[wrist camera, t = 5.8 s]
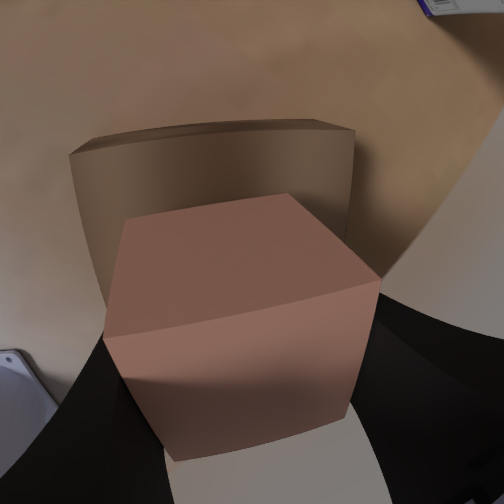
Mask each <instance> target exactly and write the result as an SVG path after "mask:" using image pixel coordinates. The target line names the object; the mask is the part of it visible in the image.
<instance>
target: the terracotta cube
mask: <svg viewBox="0 0 504 504" xmlns="http://www.w3.org/2000/svg"><path fill="white" fill-rule="evenodd" d="M381 281H382V279H381V278H380V277H379V276H378V275H377V274H376V273H375V272H374V271H373V270H372V269H371V268H370V267H368V266H367V265H366V264H365V263H364V262H363V261H362V260H361V259H360V258H359V257H358V256H357V255H356V254H355V253H354V252H353V251H352V250H351V249H349V248H348V247H347V246H346V245H345V244H344V243H343V242H342V241H341V240H340V239H339V238H338V237H337V236H335V235H334V234H333V233H332V232H331V231H330V230H329V229H328V228H327V227H326V226H324V225H323V224H322V223H321V222H320V221H319V220H318V219H317V218H316V217H314V216H313V215H312V214H311V213H310V212H309V211H308V210H306V209H305V208H304V207H303V206H302V205H301V204H300V203H298V202H297V201H296V200H295V199H294V198H293V197H292V196H290V195H289V194H288V193H284V194H277V195H270V196H262V197H255V198H248V199H242V200H235V201H228V202H222V203H216V204H209V205H203V206H197V207H191V208H186V209H180V210H174V211H168V212H163V213H157V214H152V215H147V216H141V217H136V218H131V219H126V220H125V223H124V227H123V231H122V236H121V240H120V244H119V249H118V253H117V258H116V263H115V268H114V273H113V278H112V283H111V289H110V294H109V300H108V306H107V312H106V319H105V326H104V333H103V340H104V342H105V345H106V347H107V349H108V351H109V353H110V355H111V357H112V359H113V361H114V363H115V365H116V367H117V369H118V371H119V372H120V374H121V376H122V378H123V380H124V382H125V384H126V385H127V387H128V389H129V391H130V393H131V394H132V396H133V398H134V400H135V401H136V403H137V405H138V407H139V408H140V410H141V412H142V413H143V415H144V417H145V418H146V420H147V421H148V423H149V425H150V426H151V428H152V429H153V431H154V433H155V434H156V436H157V437H158V439H159V440H160V442H161V443H162V445H163V446H164V448H165V449H166V451H167V452H168V454H169V455H170V456H171V458H172V459H173V461H174V462H175V461H182V460H189V459H195V458H201V457H207V456H212V455H217V454H222V453H227V452H232V451H236V450H241V449H245V448H249V447H253V446H257V445H261V444H265V443H269V442H273V441H276V440H280V439H283V438H286V437H290V436H293V435H296V434H300V433H303V432H306V431H309V430H312V429H315V428H318V427H321V426H323V425H327V424H329V423H332V422H335V421H338V420H340V419H343V418H344V417H345V415H346V412H347V409H348V406H349V403H350V400H351V397H352V394H353V390H354V387H355V384H356V381H357V377H358V374H359V371H360V367H361V364H362V360H363V357H364V353H365V349H366V346H367V342H368V338H369V334H370V330H371V326H372V322H373V318H374V313H375V309H376V305H377V300H378V296H379V291H380V286H381Z"/></svg>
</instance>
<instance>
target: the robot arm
mask: <svg viewBox="0 0 504 504" xmlns="http://www.w3.org/2000/svg"><path fill="white" fill-rule="evenodd" d="M103 333H104V331H103ZM103 333H102V335H101V337H100V338H99V340H98V342H97V344H96V346H95V348H94V349H93V351H92V353H91V355H90V357H89V358H88V360H87V362H86V364H85V366H84V367H83V369H82V371H81V372H80V374H79V376H78V377H77V379H76V381H75V382H74V384H73V386H72V387H71V389H70V391H69V392H68V394H67V395H66V397H65V398H64V400H63V402H62V403H61V405H60V406H59V407H58V405H57V404H56V403H55V402H54V400H53V399H52V398H51V397H50V395H49V394H48V393H47V391H46V390H45V389H44V387H43V386H42V385H41V383H40V382H39V380H38V379H37V378H36V376H35V375H34V373H33V372H32V371H31V369H30V368H29V366H28V365H27V363H26V362H25V360H24V359H23V357H22V356H21V354H20V353H19V352H17V351H14V350H10V351H0V504H174V500H173V496H172V492H171V488H170V483H169V479H168V474H167V469H166V464H165V456H164V446H163V445H162V443H161V442H160V440H159V439H158V437H157V436H156V434H155V433H154V431H153V429H152V428H151V426H150V425H149V423H148V421H147V420H146V418H145V417H144V415H143V413H142V412H141V410H140V408H139V407H138V405H137V403H136V401H135V400H134V398H133V396H132V394H131V393H130V391H129V389H128V387H127V385H126V384H125V382H124V380H123V378H122V376H121V374H120V372H119V371H118V369H117V367H116V365H115V363H114V361H113V359H112V357H111V355H110V353H109V351H108V349H107V347H106V345H105V342H104V340H103ZM350 402H351V404H352V406H353V408H354V409H355V411H356V413H357V415H358V417H359V419H360V421H361V424H362V426H363V428H364V430H365V432H366V434H367V436H368V439H369V441H370V443H371V446H372V448H373V451H374V453H375V455H376V458H377V460H378V463H379V465H380V468H381V471H382V473H383V476H384V479H385V482H386V484H387V487H388V490H389V494H390V497H391V500H392V503H393V504H504V339H499V338H495V337H491V336H486V335H483V334H480V333H476V332H472V331H469V330H466V329H462V328H460V327H456V326H453V325H451V324H448V323H445V322H443V321H440V320H438V319H435V318H432V317H430V316H428V315H425V314H423V313H420V312H418V311H416V310H414V309H412V308H410V307H408V306H405V305H403V304H401V303H399V302H397V301H395V300H393V299H391V298H389V297H387V296H386V295H384V294H382V293H380V292H379V296H378V300H377V305H376V309H375V313H374V318H373V322H372V326H371V330H370V334H369V338H368V342H367V346H366V349H365V353H364V357H363V360H362V364H361V367H360V371H359V374H358V377H357V381H356V384H355V387H354V390H353V394H352V397H351V400H350ZM44 423H47V424H46V426H45V427H44Z"/></svg>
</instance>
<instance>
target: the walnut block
mask: <svg viewBox="0 0 504 504" xmlns="http://www.w3.org/2000/svg"><path fill="white" fill-rule="evenodd" d="M354 147H355V130H352V129H348V128H345V127H341V126H337V125H334V124H330V123H326V122H322V121H318V120H314V119H268V120H241V121H224V122H210V123H198V124H188V125H178V126H169V127H161V128H153V129H146V130H139V131H133V132H126V133H120V134H114V135H109V136H103V137H98V138H93V139H91V140H89V141H88V142H87V143H85V144H84V145H82V146H81V147H79V148H78V149H77V150H75V151H74V152H72V153H71V154H70V155H69V159H70V165H71V171H72V176H73V182H74V187H75V192H76V197H77V202H78V207H79V211H80V216H81V220H82V224H83V228H84V233H85V237H86V240H87V244H88V248H89V252H90V255H91V259H92V263H93V266H94V269H95V273H96V276H97V279H98V283H99V286H100V289H101V292H102V295H103V298H104V301H105V304H106V307H107V306H108V300H109V294H110V289H111V283H112V278H113V273H114V268H115V263H116V258H117V253H118V249H119V244H120V240H121V236H122V231H123V227H124V223H125V220H126V219H131V218H136V217H141V216H147V215H152V214H157V213H163V212H168V211H174V210H180V209H186V208H191V207H197V206H203V205H209V204H216V203H222V202H228V201H235V200H242V199H248V198H255V197H262V196H270V195H277V194H284V193H288V194H289V195H290V196H292V197H293V198H294V199H295V200H296V201H297V202H298V203H300V204H301V205H302V206H303V207H304V208H305V209H306V210H308V211H309V212H310V213H311V214H312V215H313V216H314V217H316V218H317V219H318V220H319V221H320V222H321V223H322V224H323V225H324V226H326V227H327V228H328V229H329V230H330V231H331V232H332V233H333V234H334V235H335V236H337V237H338V238H339V239H340V240H341V241H342V242H343V243H344V244H345V237H346V229H347V221H348V213H349V204H350V194H351V184H352V173H353V161H354Z"/></svg>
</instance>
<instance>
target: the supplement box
mask: <svg viewBox="0 0 504 504" xmlns="http://www.w3.org/2000/svg"><path fill="white" fill-rule="evenodd" d="M418 2H419V4H420V6H421V7H422V9H423V11H424V13H425V14H426V16H442V15H453V14H476V13H504V0H418Z"/></svg>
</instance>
